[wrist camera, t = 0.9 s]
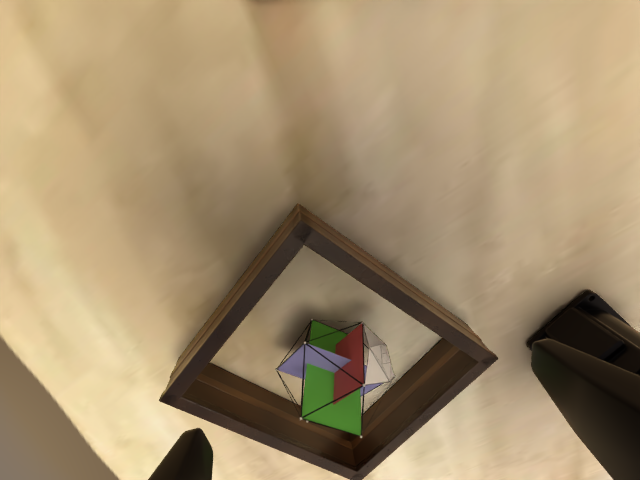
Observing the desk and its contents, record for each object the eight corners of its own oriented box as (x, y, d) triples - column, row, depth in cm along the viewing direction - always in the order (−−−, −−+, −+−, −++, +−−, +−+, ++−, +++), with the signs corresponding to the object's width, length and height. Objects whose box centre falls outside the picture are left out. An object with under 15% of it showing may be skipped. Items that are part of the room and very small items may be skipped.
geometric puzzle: (336, 424, 25) (398, 472, 18) (254, 399, 23) (286, 441, 16) (362, 333, 27) (426, 342, 20) (289, 303, 25) (332, 301, 18)
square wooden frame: (469, 324, 25) (499, 358, 22) (349, 438, 29) (358, 483, 25) (297, 200, 20) (300, 219, 17) (176, 358, 24) (158, 401, 20)
